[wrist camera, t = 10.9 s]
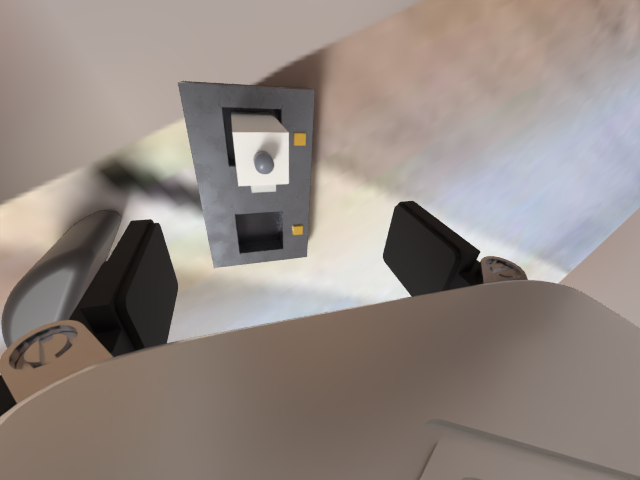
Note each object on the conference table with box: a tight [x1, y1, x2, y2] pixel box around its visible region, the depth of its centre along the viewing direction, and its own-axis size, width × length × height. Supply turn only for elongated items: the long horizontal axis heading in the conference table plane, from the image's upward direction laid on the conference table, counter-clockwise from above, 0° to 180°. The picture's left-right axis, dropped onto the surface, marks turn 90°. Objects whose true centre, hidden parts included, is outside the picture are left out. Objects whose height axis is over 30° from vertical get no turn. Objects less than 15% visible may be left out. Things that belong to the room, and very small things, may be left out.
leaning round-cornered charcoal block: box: [2, 210, 121, 348], centre depth 27 cm, size 16×5×9 cm, turn 144°
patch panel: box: [178, 81, 315, 268], centre depth 30 cm, size 20×12×3 cm, turn 176°
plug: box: [231, 112, 289, 193], centre depth 24 cm, size 5×4×11 cm
